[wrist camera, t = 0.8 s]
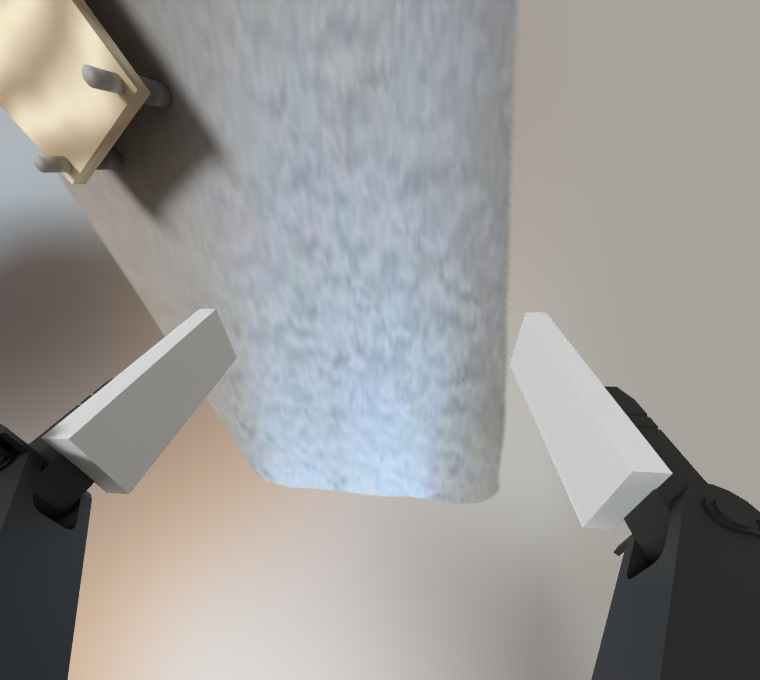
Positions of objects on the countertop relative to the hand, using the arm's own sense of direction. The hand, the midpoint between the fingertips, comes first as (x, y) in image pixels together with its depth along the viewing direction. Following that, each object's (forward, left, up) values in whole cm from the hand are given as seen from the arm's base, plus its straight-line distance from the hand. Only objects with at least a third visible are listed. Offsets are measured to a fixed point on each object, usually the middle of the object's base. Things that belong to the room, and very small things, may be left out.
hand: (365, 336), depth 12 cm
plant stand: (-13, -40, -26) cm, 49 cm away
